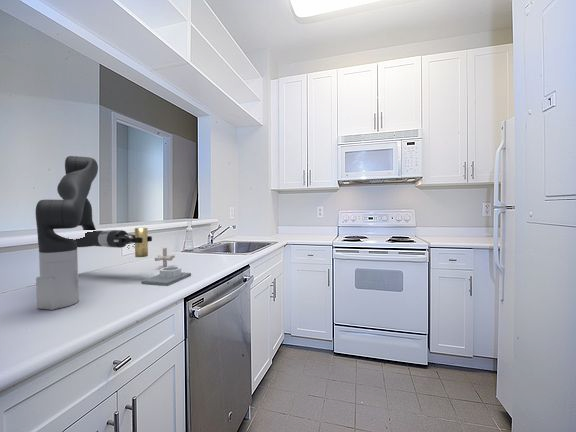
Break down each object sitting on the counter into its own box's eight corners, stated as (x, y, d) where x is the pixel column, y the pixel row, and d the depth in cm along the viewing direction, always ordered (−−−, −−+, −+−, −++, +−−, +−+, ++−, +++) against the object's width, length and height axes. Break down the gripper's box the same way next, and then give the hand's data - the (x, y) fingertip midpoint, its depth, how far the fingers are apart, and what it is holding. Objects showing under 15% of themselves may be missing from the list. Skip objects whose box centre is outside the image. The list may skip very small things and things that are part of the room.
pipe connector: (179, 266, 138) (179, 247, 138) (161, 270, 130) (161, 250, 129) (168, 264, 143) (167, 246, 143) (149, 268, 135) (149, 248, 135)
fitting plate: (167, 285, 105) (167, 275, 105) (141, 283, 108) (141, 273, 108) (191, 275, 121) (190, 266, 121) (167, 274, 124) (167, 265, 123)
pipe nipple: (142, 257, 112) (141, 228, 111) (132, 257, 113) (131, 228, 112) (150, 255, 116) (150, 227, 116) (141, 255, 117) (140, 227, 117)
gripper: (98, 231, 110) (133, 232, 107) (126, 229, 124) (158, 229, 121) (98, 249, 111) (133, 250, 107) (127, 245, 125) (158, 246, 121)
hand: (146, 239), depth 114 cm, fingers closed on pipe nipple, 4 cm apart
